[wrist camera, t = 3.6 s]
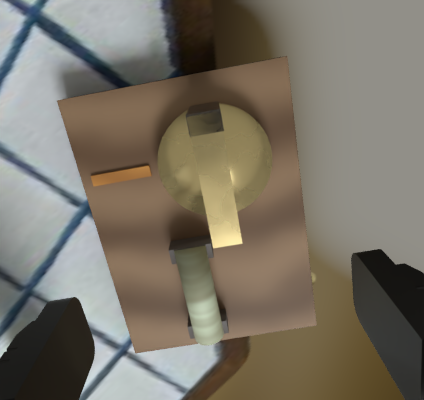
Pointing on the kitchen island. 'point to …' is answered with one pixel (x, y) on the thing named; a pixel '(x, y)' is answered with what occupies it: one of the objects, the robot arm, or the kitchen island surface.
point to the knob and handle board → (190, 221)
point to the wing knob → (215, 165)
